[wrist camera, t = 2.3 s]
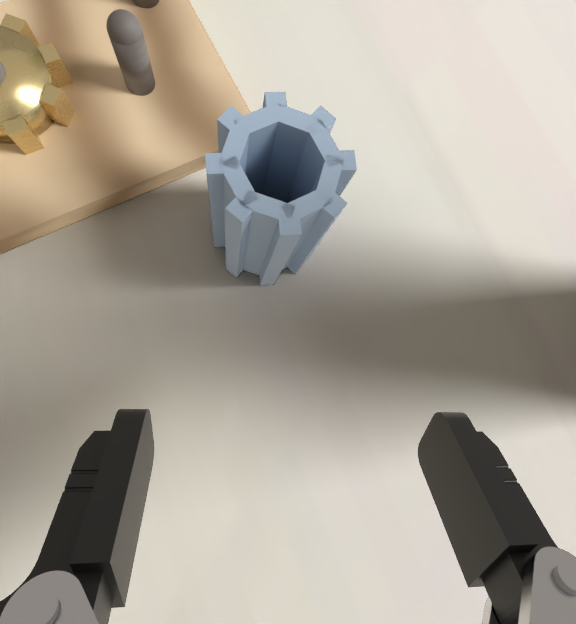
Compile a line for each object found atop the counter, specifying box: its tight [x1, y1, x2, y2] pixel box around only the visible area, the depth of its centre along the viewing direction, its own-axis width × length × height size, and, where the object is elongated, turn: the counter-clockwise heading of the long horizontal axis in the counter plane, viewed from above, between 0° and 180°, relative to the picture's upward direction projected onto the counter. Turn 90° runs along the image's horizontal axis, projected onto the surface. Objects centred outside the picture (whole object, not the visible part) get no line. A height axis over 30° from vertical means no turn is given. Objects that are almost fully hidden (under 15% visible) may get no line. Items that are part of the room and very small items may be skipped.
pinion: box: [205, 92, 357, 286], centre depth 22 cm, size 6×6×10 cm
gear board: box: [0, 0, 251, 254], centre depth 23 cm, size 18×14×6 cm
